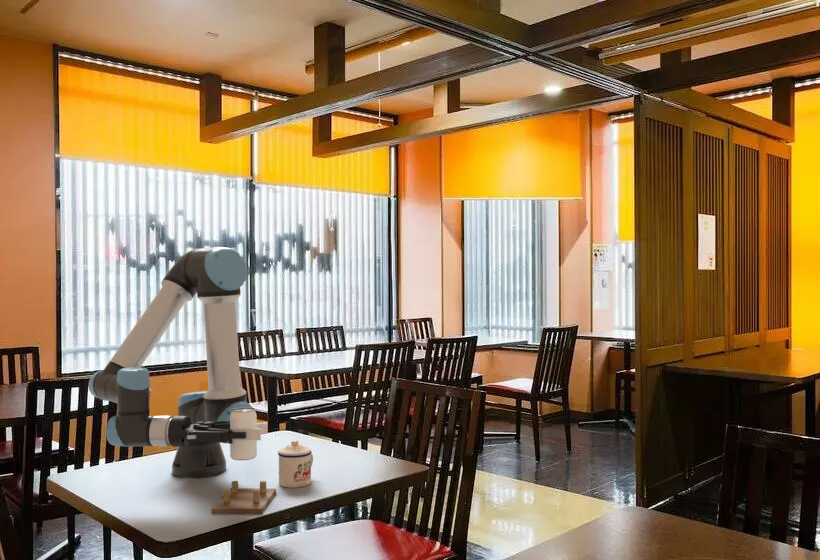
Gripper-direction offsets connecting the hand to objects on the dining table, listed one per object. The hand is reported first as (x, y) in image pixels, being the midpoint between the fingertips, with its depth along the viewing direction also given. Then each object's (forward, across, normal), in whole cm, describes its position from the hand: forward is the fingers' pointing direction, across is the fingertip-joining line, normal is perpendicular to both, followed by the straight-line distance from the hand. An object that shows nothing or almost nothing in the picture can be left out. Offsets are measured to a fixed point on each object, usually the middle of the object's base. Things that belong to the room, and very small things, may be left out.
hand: (263, 431), depth 173 cm
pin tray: (-5, 0, -18) cm, 19 cm away
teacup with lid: (+5, -18, -18) cm, 26 cm away
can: (-5, 0, -7) cm, 8 cm away
